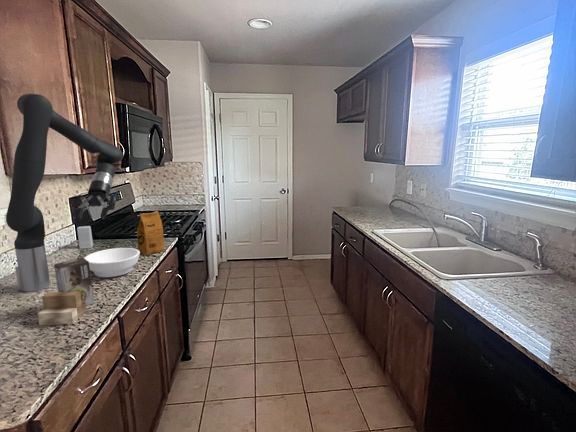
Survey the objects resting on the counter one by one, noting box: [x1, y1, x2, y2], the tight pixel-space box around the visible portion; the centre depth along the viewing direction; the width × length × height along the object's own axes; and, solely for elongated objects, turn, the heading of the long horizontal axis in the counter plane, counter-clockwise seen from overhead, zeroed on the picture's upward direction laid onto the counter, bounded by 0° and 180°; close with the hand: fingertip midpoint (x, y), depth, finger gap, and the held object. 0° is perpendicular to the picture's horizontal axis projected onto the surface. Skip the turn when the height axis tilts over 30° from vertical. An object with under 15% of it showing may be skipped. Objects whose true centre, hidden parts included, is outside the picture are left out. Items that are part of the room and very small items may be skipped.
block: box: [41, 291, 87, 319], centre depth 108 cm, size 10×6×8 cm, turn 96°
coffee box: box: [53, 257, 95, 307], centre depth 114 cm, size 9×6×16 cm
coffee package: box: [136, 210, 165, 256], centre depth 176 cm, size 10×12×22 cm
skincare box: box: [76, 225, 94, 250], centre depth 185 cm, size 6×4×12 cm
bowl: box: [83, 247, 141, 278], centre depth 147 cm, size 22×22×8 cm
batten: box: [37, 308, 79, 326], centre depth 104 cm, size 10×3×4 cm, turn 96°
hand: (90, 217), depth 126 cm, fingers open, 8 cm apart
